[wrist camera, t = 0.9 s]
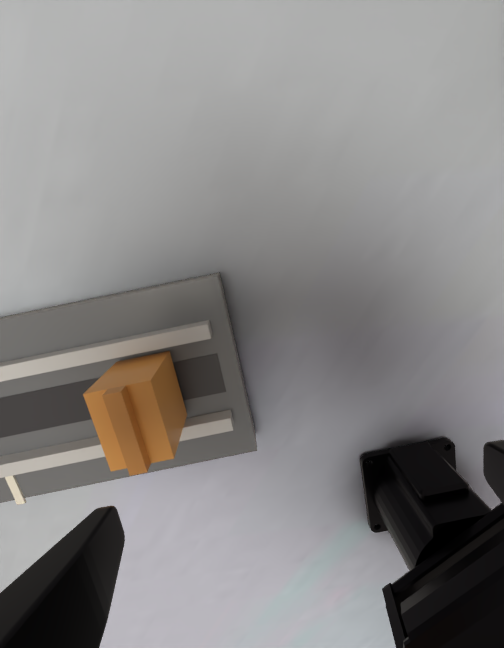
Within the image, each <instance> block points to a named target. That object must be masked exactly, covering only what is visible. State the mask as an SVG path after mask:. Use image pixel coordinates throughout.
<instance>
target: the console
mask: <svg viewBox="0 0 504 648" xmlns="http://www.w3.org/2000/svg"><path fill="white" fill-rule="evenodd" d="M166 351H170V354H171V358H172V361H173V365H174V369H175V372H176V376H177V379H178V383H179V387H180V390H181V394H182V397H183V401H184V405H185V408H186V412H187V417H186V420H185V424H184V427H183V430H182V434H181V437H180V441H179V444H178V447H177V451H176V454H175V457H174V459H170V460H165V461H160V462H155V463H151V464H150V467H149V469H148V472H146V473H149V472H154V471H159V470H164V469H169V468H174V467H179V466H183V465H188V464H193V463H198V462H203V461H208V460H213V459H218V458H223V457H228V456H233V455H237V454H242V453H247V452H252V451H257V444H256V434H255V429H254V424H253V420H252V415H251V411H250V406H249V402H248V397H247V393H246V388H245V384H244V379H243V375H242V370H241V366H240V361H239V357H238V352H237V348H236V343H235V339H234V334H233V330H232V325H231V321H230V316H229V312H228V307H227V303H226V298H225V294H224V290H223V285H222V281H221V276H220V272H219V273H214V274H209V275H204V276H199V277H194V278H189V279H185V280H180V281H175V282H170V283H165V284H160V285H156V286H151V287H146V288H141V289H136V290H131V291H126V292H122V293H117V294H112V295H107V296H102V297H97V298H92V299H88V300H83V301H78V302H73V303H68V304H63V305H58V306H54V307H49V308H44V309H39V310H34V311H29V312H25V313H20V314H15V315H10V316H5V317H0V503H2V502H7V501H12V500H15V501H16V503H17V505H19V504H24V503H26V500H25V498H26V497H31V496H36V495H41V494H46V493H51V492H56V491H61V490H66V489H70V488H75V487H80V486H85V485H90V484H95V483H100V482H105V481H110V480H115V479H120V478H125V477H129V476H130V475H129V472H128V469H127V468H126V469H121V470H116V471H110V468H109V465H108V462H107V460H106V457H105V454H104V451H103V448H102V446H101V443H100V440H99V437H98V435H97V432H96V429H95V426H94V424H93V421H92V418H91V415H90V412H89V410H88V407H87V404H86V401H85V399H84V396H83V394H84V393H85V392H86V391H87V390H88V389H89V388H90V387H91V386H92V385H93V384H94V383H95V382H96V381H97V380H98V379H99V378H100V377H101V376H102V375H103V374H104V373H105V372H106V371H107V370H109V369H110V368H111V367H112V366H113V365H114V364H115V363H116V362H118V361H122V360H127V359H132V358H137V357H142V356H147V355H152V354H157V353H161V352H166ZM141 474H144V473H141ZM137 475H139V474H137ZM132 476H134V475H132Z"/></svg>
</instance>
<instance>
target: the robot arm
mask: <svg viewBox="0 0 504 648" xmlns="http://www.w3.org/2000/svg"><path fill="white" fill-rule="evenodd" d="M445 445H447V446H446V447H444V446H445ZM368 460H370V462H368V463H366V462H367V461H368ZM360 464H361V472H362V479H363V487H364V494H365V501H366V509H367V516H368V524H369V526H370V528H371V530H372V531H373V532H375V533H376V532H383V531H387V530H388V531H389V533H390V535H391V536H392V538H393V540H394V542H395V544H396V546H397V548H398V550H399V552H400V553H401V555H402V557H403V559H404V561H405V563H406V565H407V567H408V569H409V570H410V571H409V572H408V573H406V574H405V575H403V576H402V577H401V578H399V579H398V580H397V581H395V582H394V583H393V584H391V583H389V584H388V585H386V586H385V587H384V588H382V590H383V594H384V598H385V602H386V609H387V613H388V617H389V621H390V625H391V628H392V632H393V636H394V640H395V644H396V648H504V440H498V441H493V442H488V443H486V444H485V445H484V470H483V471H484V476H485V478H486V480H487V482H488V484H489V485H490V487H491V488H492V489H493V491H494V492H495V493H496V495H497V496H498V497H499V499H500V500H501V502H502V503H501V504H500V505H498V506H497V507H495V508H494V509H493V510H491V509H490V508H489V507H488V506H487V505H486V504H485V503H484V501H483V500H482V499H481V498H480V497H479V496H478V495H477V494H476V493H475V492H474V491H473V490H472V489H471V488H470V487H469V484H468V483H467V482H466V481H465V480H464V479H463V478H462V477H461V476H460V475H459V473H458V472H457V471H456V460H455V445H454V443H453V442H452V441H451V440H450V439H448V438H440V439H435V440H431V441H426V442H421V443H416V444H411V445H406V446H401V447H396V448H391V449H386V450H381V451H376V452H372V453H367V454H364V455H363V456H361V458H360ZM376 524H377V525H376ZM124 541H125V535H124V530H123V527H122V524H121V521H120V518H119V515H118V511H117V509H116V508H115V507H114V506H107V507H101V508H97V509H96V510H94V511H93V512H92V513H91V514H90V515H89V516H87V517H86V518H85V519H84V520H83V521H82V522H81V523H79V524H78V525H77V526H76V527H75V528H74V529H73V530H71V531H70V532H69V533H68V534H67V535H66V536H65V537H64V538H62V539H61V540H60V541H59V542H58V543H57V544H56V545H54V546H53V547H52V548H51V549H50V550H49V551H48V552H46V553H45V554H44V555H43V556H42V557H41V558H40V559H39V560H37V561H36V562H35V563H34V564H33V565H32V566H31V567H29V568H28V569H27V570H26V571H25V572H24V573H23V574H21V575H20V576H19V577H18V578H17V579H16V580H15V581H13V582H12V583H11V584H10V585H9V586H8V587H7V588H6V589H4V590H3V591H2V592H1V593H0V648H99V646H100V643H101V640H102V636H103V633H104V630H105V626H106V623H107V619H108V615H109V611H110V607H111V602H112V598H113V593H114V588H115V584H116V579H117V575H118V570H119V566H120V561H121V556H122V552H123V547H124Z"/></svg>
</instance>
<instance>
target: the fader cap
mask: <svg viewBox="0 0 504 648" xmlns="http://www.w3.org/2000/svg"><path fill="white" fill-rule="evenodd" d="M83 396H84V399H85V401H86V404H87V407H88V410H89V412H90V415H91V418H92V421H93V424H94V426H95V429H96V432H97V435H98V437H99V440H100V443H101V446H102V448H103V451H104V454H105V457H106V460H107V462H108V465H109V468H110V471H116V470H121V469H126V468H127V469H128V472H129V475H130V476H132V475H137V474H141V473H146V472H148V469H149V467H150V464H151V463H155V462H160V461H165V460H170V459H174V457H175V454H176V451H177V447H178V444H179V441H180V437H181V434H182V430H183V427H184V424H185V420H186V417H187V412H186V408H185V405H184V401H183V397H182V394H181V390H180V387H179V383H178V379H177V376H176V372H175V369H174V365H173V361H172V358H171V354H170V351H166V352H161V353H157V354H152V355H147V356H142V357H137V358H132V359H127V360H122V361H118V362H116V363H115V364H114V365H113V366H112V367H111V368H110V369H109V370H107V371H106V372H105V373H104V374H103V375H102V376H101V377H100V378H99V379H98V380H97V381H96V382H95V383H94V384H93V385H92V386H91V387H90V388H89V389H88V390H87V391H86V392H85V393H84V394H83Z"/></svg>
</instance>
